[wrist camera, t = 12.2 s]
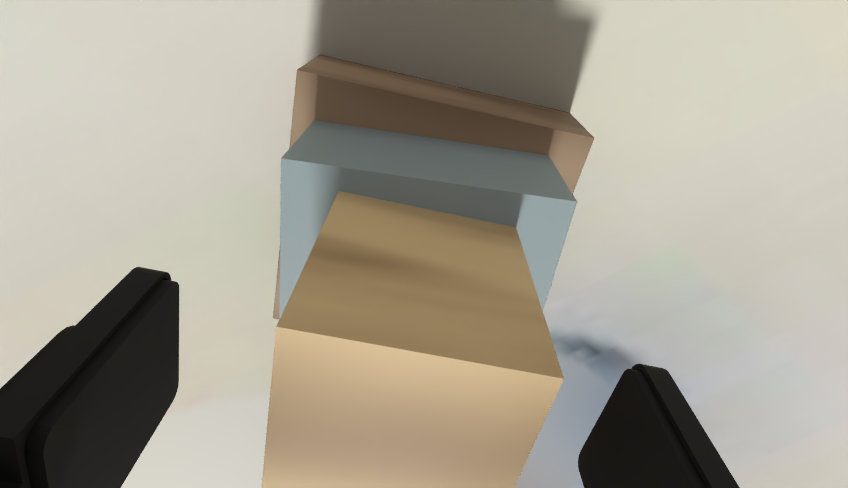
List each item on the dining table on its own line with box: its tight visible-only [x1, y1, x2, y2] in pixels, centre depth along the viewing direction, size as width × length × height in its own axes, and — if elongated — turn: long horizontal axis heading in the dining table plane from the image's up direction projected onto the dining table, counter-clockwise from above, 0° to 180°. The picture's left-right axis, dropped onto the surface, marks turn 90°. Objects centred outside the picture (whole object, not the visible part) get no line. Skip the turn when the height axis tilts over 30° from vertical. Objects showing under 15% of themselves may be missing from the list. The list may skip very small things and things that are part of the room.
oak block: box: [262, 191, 564, 488], centre depth 12 cm, size 5×5×6 cm
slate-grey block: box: [279, 120, 577, 320], centre depth 17 cm, size 8×8×4 cm
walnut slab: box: [273, 55, 594, 319], centre depth 21 cm, size 10×10×4 cm
